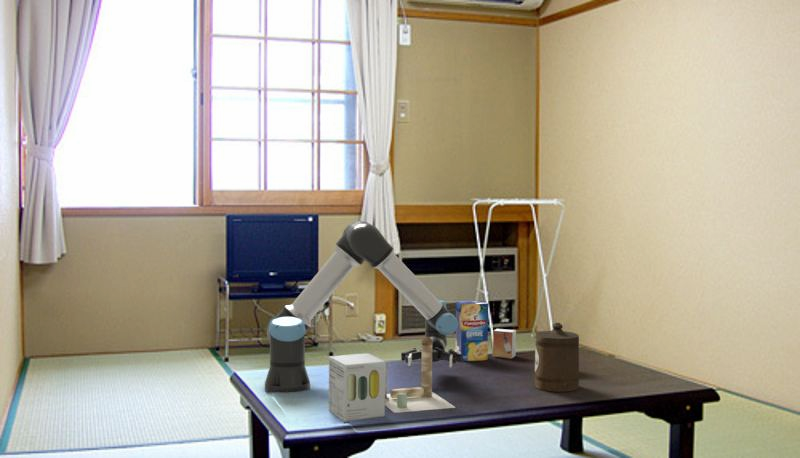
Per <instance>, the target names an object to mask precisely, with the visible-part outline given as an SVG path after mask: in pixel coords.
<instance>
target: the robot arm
mask: <svg viewBox="0 0 800 458" xmlns="http://www.w3.org/2000/svg"><path fill="white" fill-rule="evenodd" d="M342 232H343V233H342V235H341V237H340V238H339V239H338V240H337V242H336V243H335V244H334V252H333V253H332V255H331V256H330V257H329V258H328V260H326V261H325V263H324V265H323V266H322V267H321V268H320V269H319V270H318V272H317V273H316V274H315V275H314V276H313V278H312V279H311V280H310V282H309V283H308V284H307V285H306V286H305V288H304V289H303V290H302V291H301V292H300V294H299V295H298V296H297V297H296V299H295V300H294V301H293V302H292V303H291V304H287V305H284V307H282V309H281V310H280V312H278V314H276V315H274V316H273V317H272V318H271V319H270V320H269V322H268V323H267V326H266V338H267V340H268V343H269V367H268V368H269V369H268V372H267V374H266V378H265V381H264V391H265V392H267V393H270V394H272V393H281V394H282V393H285V394H287V393H297V392H298V393H299V392H303V391H309V390H311V380H310V377H309V374H308V371H307V369H306V346H305V345H306V336H305V335H306V333H308V331H309V330H310V328H311V327H312V320H313V318H314V317H315V315H316V314H317V313H318V312H319V311H320V309H321V308H322V306H323V305H325V303H326V302H327V301H328V299H329V298H330V297H331V296H332V294H333V293H334V292H335V291H337V288H338V287H339V286H340V285H341V283H342V282H343V281H344V280H345V278H346V277H347V276H348V275H349V274H350V272H351V271H352V270H353V269H354V268H355V267H361V265H362V264H363V263H364V262H366V263H368V264H369V265H370V266H371V268H372V269H376V270H379V272H380V273H382V275H383V276H384V277H385V278H386V279H387V280H388V281H389V282H390V283H391V284H392V285H393V286H394V287H395V288H396V290H398V291H399V293H401V295H402V296H403V297H404V298H405V299H406V300H407V301H408V302H409V303H410V304H411V305H412V306H413V307H414V308H415V309H416V310H417V311H418V312H419V313H420V315H422V316H423V317H424V318H425V322H424V323H425V330H424V331H425V333H424V338H425V337H429V338H431V339H432V341H433V344H432V363H437V362H439V361H446V362H447V361H448V362H449V364H448V365H449V368H452V367H453V364H456V363H462V362H463V361H462V355H461V354H459V353H457V352H455V350H454V349H452V348H450V349H448V350H447V351H446V347H447V345H448V344H447V343H448V342H447V341H448V340H447V336H450V335H452V334H454V333H456V329H457V327H458V321H457V319H456V315H454V314H453V313H451V312H450V311H449V310H448V307H447V303H446V301H445V300H442V299H441V300H440V299H438V298H437V297H436V296H435V295H434V294H433V293H432V292H431V291H430V290H429V289H428V288H427V287H426V285H425V284H423V282H422V281H421V280H420V279H419V278H418V277H417V276H416V274H414V272H412V271H411V270H410V269H409V268H408V267H407V266H406V264H405V263H404V262H402V260H401V259H400V258H399V257H398V256H397V255H396V254H395V252H394V251H395V250H394V247H393V246H392V245H391V244H390V243H389V242H388V241H387V239H386V238H385V236H383V234H382V233H381V231H380V230H379V228H377V227H376V226H375V225H373V224H370V223H369V222H367V221H364V220H363V221H362V220H358V221H353V222H352V223H350V224H348V225H347V226H346V227H345V229H344V231H342ZM400 353H401V354H400V355H401V357H400V360H401V361H403V362H406V364H407V367H411V364H412V363H413V361H416V360H422V348H421V349H419V350H418V348H416V347H414V348H412V349H410V350H407V351H403V352H400Z"/></svg>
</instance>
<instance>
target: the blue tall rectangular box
mask: <svg viewBox="0 0 800 458" xmlns="http://www.w3.org/2000/svg"><path fill="white" fill-rule="evenodd" d="M455 318H456V319H457V321H458V327H457V329H456V331H455V350H454V351H455V352H457V353H459V354H461V355H462V362H470V361H474V362H475V361H488V353H489V352H488V351H489V349H488V348H489V345H488V344H489V343H488V342H489V302H485V301H483V300H474V301H473V300H472V301H470V300H469V301H467V300H466V301H455Z"/></svg>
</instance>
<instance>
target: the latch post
mask: <svg viewBox="0 0 800 458" xmlns="http://www.w3.org/2000/svg"><path fill="white" fill-rule="evenodd" d="M397 407H398V408H406V407H407V394H406V393H398V394H397Z"/></svg>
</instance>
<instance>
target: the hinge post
mask: <svg viewBox="0 0 800 458" xmlns="http://www.w3.org/2000/svg"><path fill="white" fill-rule="evenodd" d="M387 394H388V362H387V361H385V402H387V401H389V398H388V397H387Z"/></svg>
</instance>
